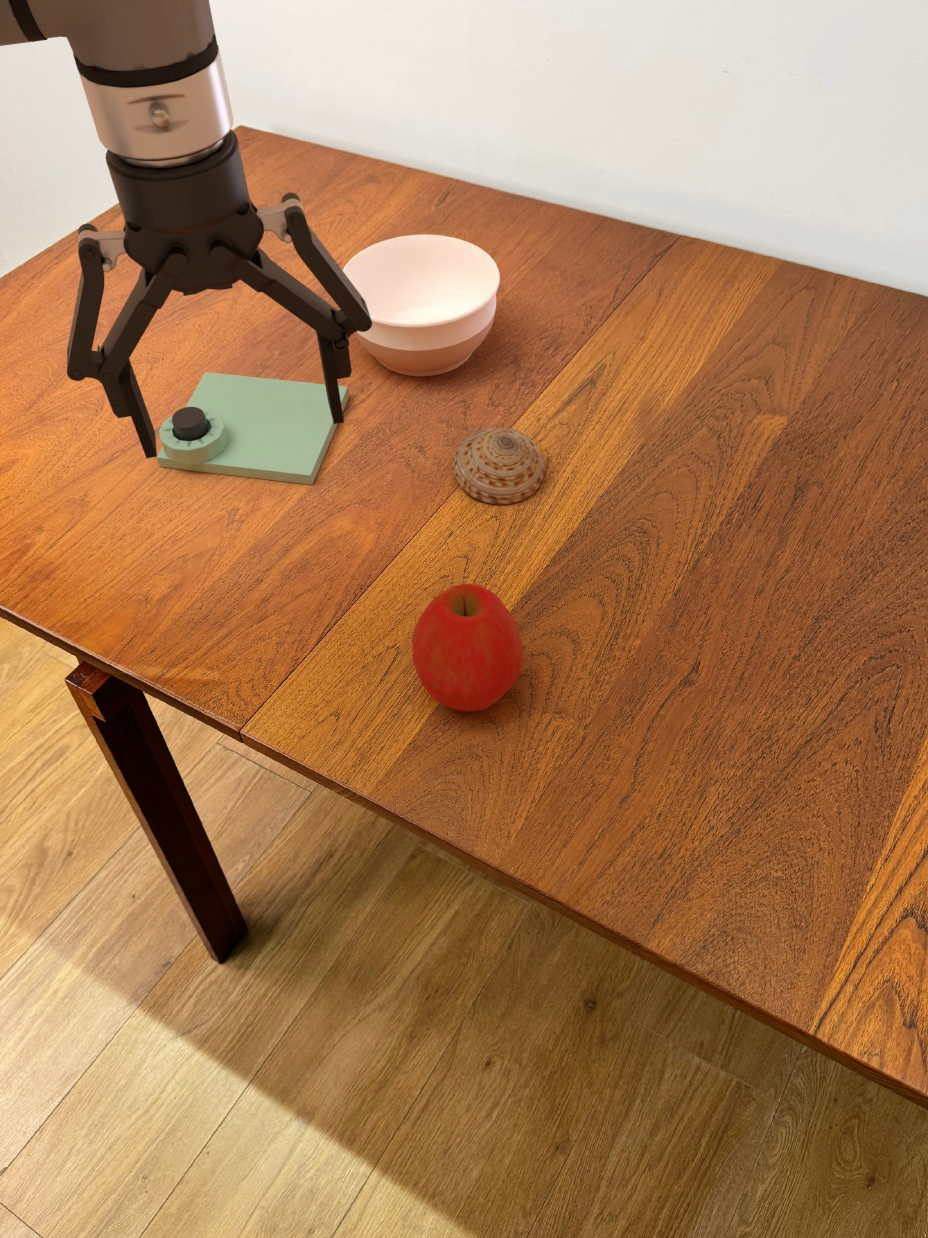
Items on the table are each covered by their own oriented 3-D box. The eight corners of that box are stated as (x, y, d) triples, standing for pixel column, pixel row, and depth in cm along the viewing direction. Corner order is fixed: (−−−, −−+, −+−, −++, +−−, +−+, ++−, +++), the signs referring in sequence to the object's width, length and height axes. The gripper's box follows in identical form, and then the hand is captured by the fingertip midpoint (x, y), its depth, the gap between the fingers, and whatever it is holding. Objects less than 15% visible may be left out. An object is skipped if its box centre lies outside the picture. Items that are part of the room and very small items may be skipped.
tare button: (171, 440, 92) (166, 425, 91) (183, 419, 94) (178, 404, 93) (202, 443, 92) (197, 428, 90) (213, 422, 94) (209, 407, 92)
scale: (157, 470, 94) (149, 445, 91) (207, 381, 102) (201, 356, 99) (310, 488, 91) (306, 463, 89) (349, 396, 100) (345, 371, 97)
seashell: (520, 410, 94) (551, 432, 87) (527, 466, 97) (557, 492, 90) (437, 430, 92) (462, 454, 86) (447, 486, 95) (472, 515, 88)
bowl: (505, 302, 109) (505, 235, 103) (493, 395, 99) (493, 327, 93) (361, 297, 110) (352, 231, 104) (335, 389, 100) (324, 321, 94)
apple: (435, 633, 80) (427, 541, 72) (534, 655, 79) (538, 563, 70) (402, 715, 75) (389, 627, 67) (507, 740, 74) (507, 653, 65)
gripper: (-65, 203, 53) (70, 495, 69) (397, 136, 56) (421, 429, 72) (-54, 139, 57) (70, 426, 74) (372, 80, 60) (400, 368, 77)
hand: (244, 428), depth 73 cm, fingers open, 13 cm apart
